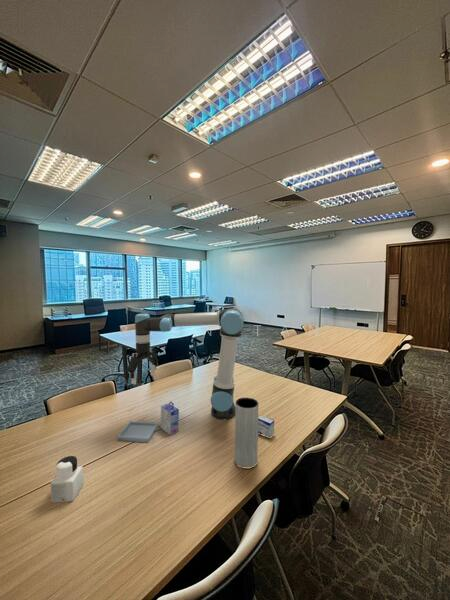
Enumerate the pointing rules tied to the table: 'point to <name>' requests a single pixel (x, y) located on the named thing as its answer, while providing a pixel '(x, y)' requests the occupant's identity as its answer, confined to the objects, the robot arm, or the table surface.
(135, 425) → the tray
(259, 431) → the box
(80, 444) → the table surface
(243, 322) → the robot arm
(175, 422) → the ink cartridge box
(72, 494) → the container
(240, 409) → the vase
